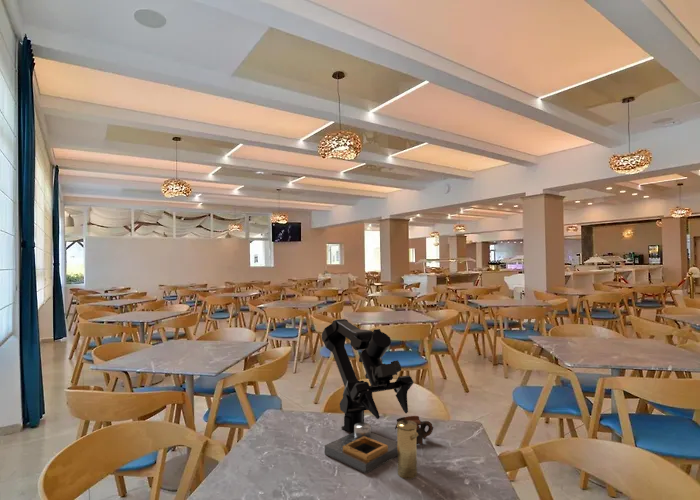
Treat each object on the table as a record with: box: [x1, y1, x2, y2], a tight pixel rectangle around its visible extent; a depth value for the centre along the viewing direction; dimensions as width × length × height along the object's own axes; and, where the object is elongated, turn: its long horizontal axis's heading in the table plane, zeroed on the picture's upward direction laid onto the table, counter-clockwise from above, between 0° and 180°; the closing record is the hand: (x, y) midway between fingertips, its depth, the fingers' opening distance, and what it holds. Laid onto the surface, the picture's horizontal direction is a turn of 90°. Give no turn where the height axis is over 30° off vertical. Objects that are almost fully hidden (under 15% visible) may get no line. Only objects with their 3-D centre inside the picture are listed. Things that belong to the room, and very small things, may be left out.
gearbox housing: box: [324, 421, 398, 474], centre depth 119 cm, size 16×16×6 cm
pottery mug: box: [394, 415, 434, 445], centre depth 129 cm, size 12×10×8 cm
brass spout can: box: [396, 420, 418, 480], centre depth 107 cm, size 8×5×13 cm
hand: (392, 415), depth 114 cm, fingers open, 9 cm apart
